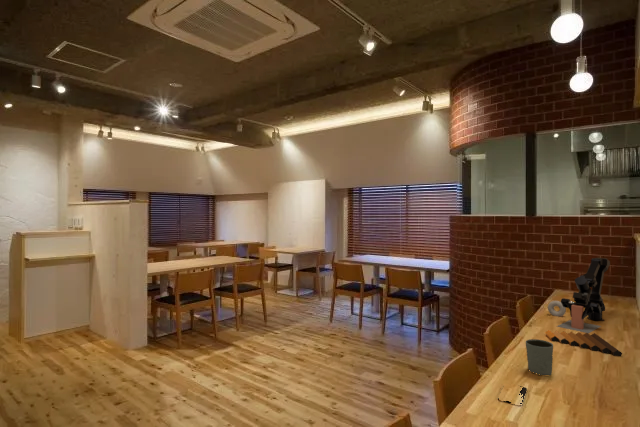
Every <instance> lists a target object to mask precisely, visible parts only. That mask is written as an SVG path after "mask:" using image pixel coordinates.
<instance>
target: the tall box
mask: <svg viewBox="0 0 640 427" xmlns="http://www.w3.org/2000/svg"><path fill="white" fill-rule="evenodd" d="M584 310H585V308H584V306H579V305H571V315H570V318H571V319H570V320H571V327H572V328H576V329H581V330H582V329H584V323H585V321H584V320H585V318H584V319H582V315H583V312H584ZM571 316H572V317H571Z"/></svg>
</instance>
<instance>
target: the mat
mask: <svg viewBox="0 0 640 427" xmlns="http://www.w3.org/2000/svg"><path fill="white" fill-rule="evenodd" d="M556 327H557V328H562V329H565V330H566V329H567V330H572V331H576V332H580V333H584V334H585V333H588V334H590V333H592V332H594V331H595V330H597V329H599V328H602V326H601V325H597V324H593V323H588V322H584V329H582V330H581V329H576V328H572V327H571V319H569V320H567V321H565V322H562V323H561V324H558V325H556Z"/></svg>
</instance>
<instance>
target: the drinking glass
mask: <svg viewBox="0 0 640 427" xmlns="http://www.w3.org/2000/svg"><path fill="white" fill-rule="evenodd" d="M525 349H526V359H527V368H528V369H529V370H530V371H531V372H534V373H537V374H540V375H539V376H541V375H549V376H551V375H552V373H553V359H554V357H553V354H554V344H553V343H552V342H550V341H547V340H542V339H536V338H535V339H534V338H533V339H527V340H525ZM528 369H527V370H528ZM529 370H528V371H529ZM530 371H529V372H530ZM531 372H530V373H531Z"/></svg>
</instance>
